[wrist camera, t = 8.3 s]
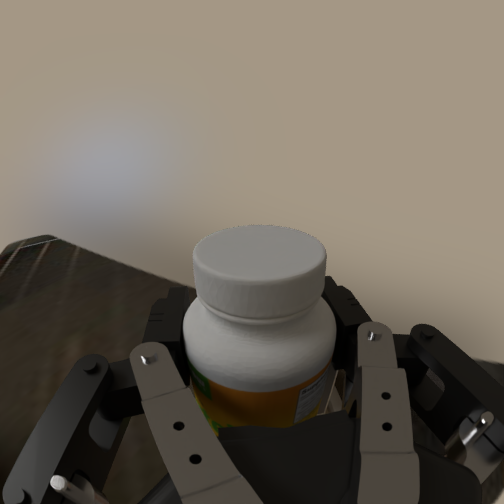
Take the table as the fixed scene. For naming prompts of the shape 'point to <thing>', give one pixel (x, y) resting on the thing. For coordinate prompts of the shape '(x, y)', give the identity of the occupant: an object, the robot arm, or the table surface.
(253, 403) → the supplement bottle
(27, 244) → the table surface
